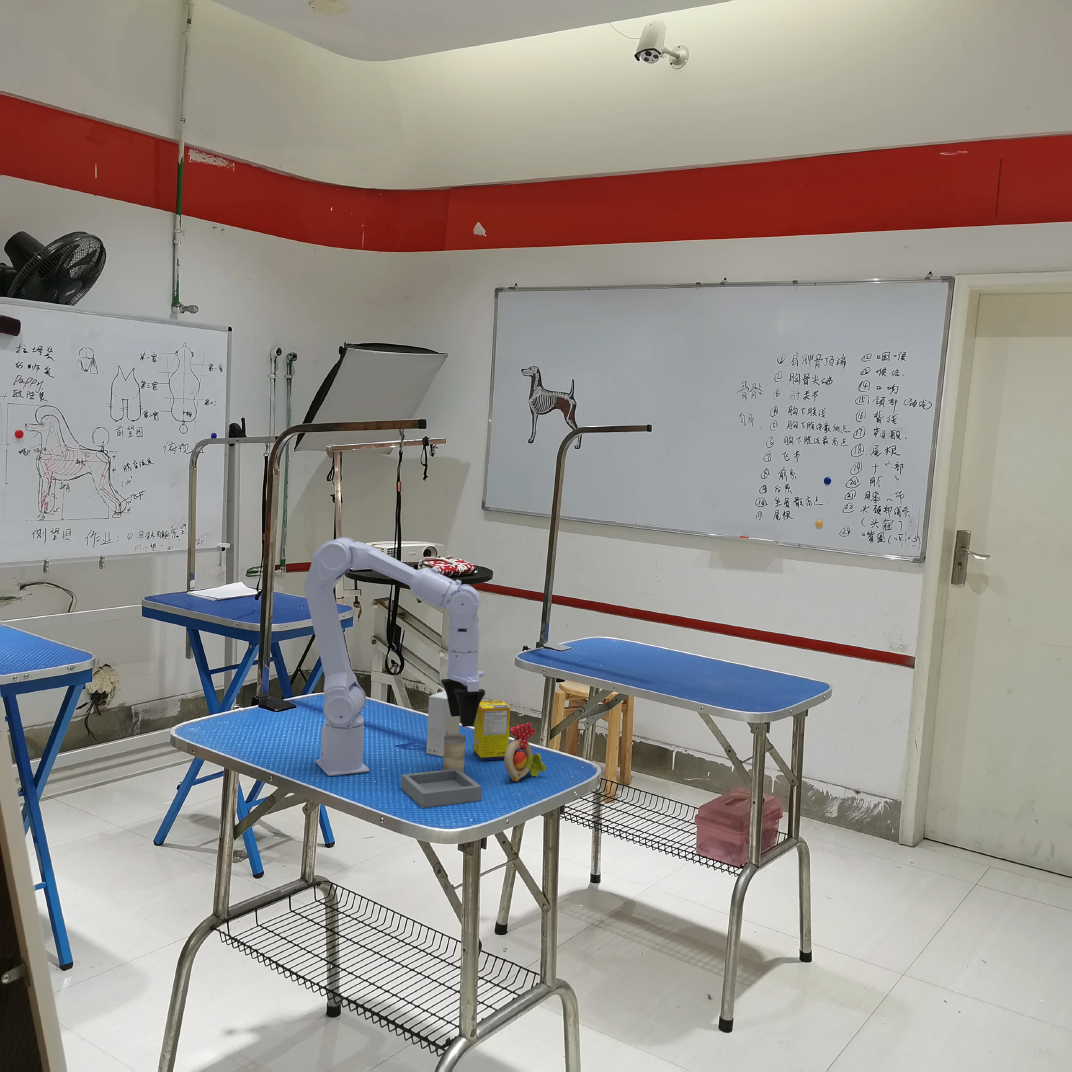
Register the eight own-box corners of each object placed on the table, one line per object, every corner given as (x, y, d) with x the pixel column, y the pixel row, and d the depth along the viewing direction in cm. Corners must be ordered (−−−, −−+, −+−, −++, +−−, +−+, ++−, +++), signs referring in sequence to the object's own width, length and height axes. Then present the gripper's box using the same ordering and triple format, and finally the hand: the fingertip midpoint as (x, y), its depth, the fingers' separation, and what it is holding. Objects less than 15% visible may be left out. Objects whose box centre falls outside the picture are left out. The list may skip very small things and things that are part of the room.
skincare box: (443, 757, 201) (445, 698, 201) (425, 753, 203) (427, 695, 202) (459, 750, 207) (461, 693, 206) (441, 746, 209) (443, 690, 208)
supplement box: (500, 751, 207) (502, 699, 206) (508, 760, 202) (511, 706, 201) (472, 753, 205) (474, 700, 205) (480, 761, 200) (482, 707, 199)
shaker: (439, 770, 193) (441, 734, 193) (459, 768, 195) (460, 732, 194) (447, 776, 190) (448, 740, 189) (467, 774, 191) (468, 738, 191)
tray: (401, 788, 182) (401, 774, 181) (457, 781, 187) (457, 768, 186) (422, 808, 172) (422, 793, 172) (481, 800, 177) (481, 786, 177)
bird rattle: (529, 795, 187) (553, 766, 194) (517, 747, 182) (542, 718, 189) (501, 789, 190) (526, 760, 197) (489, 741, 186) (515, 713, 192)
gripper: (495, 656, 184) (493, 729, 185) (472, 642, 197) (471, 710, 198) (458, 658, 181) (456, 732, 182) (437, 643, 195) (436, 712, 196)
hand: (462, 721), depth 190 cm, fingers open, 7 cm apart
